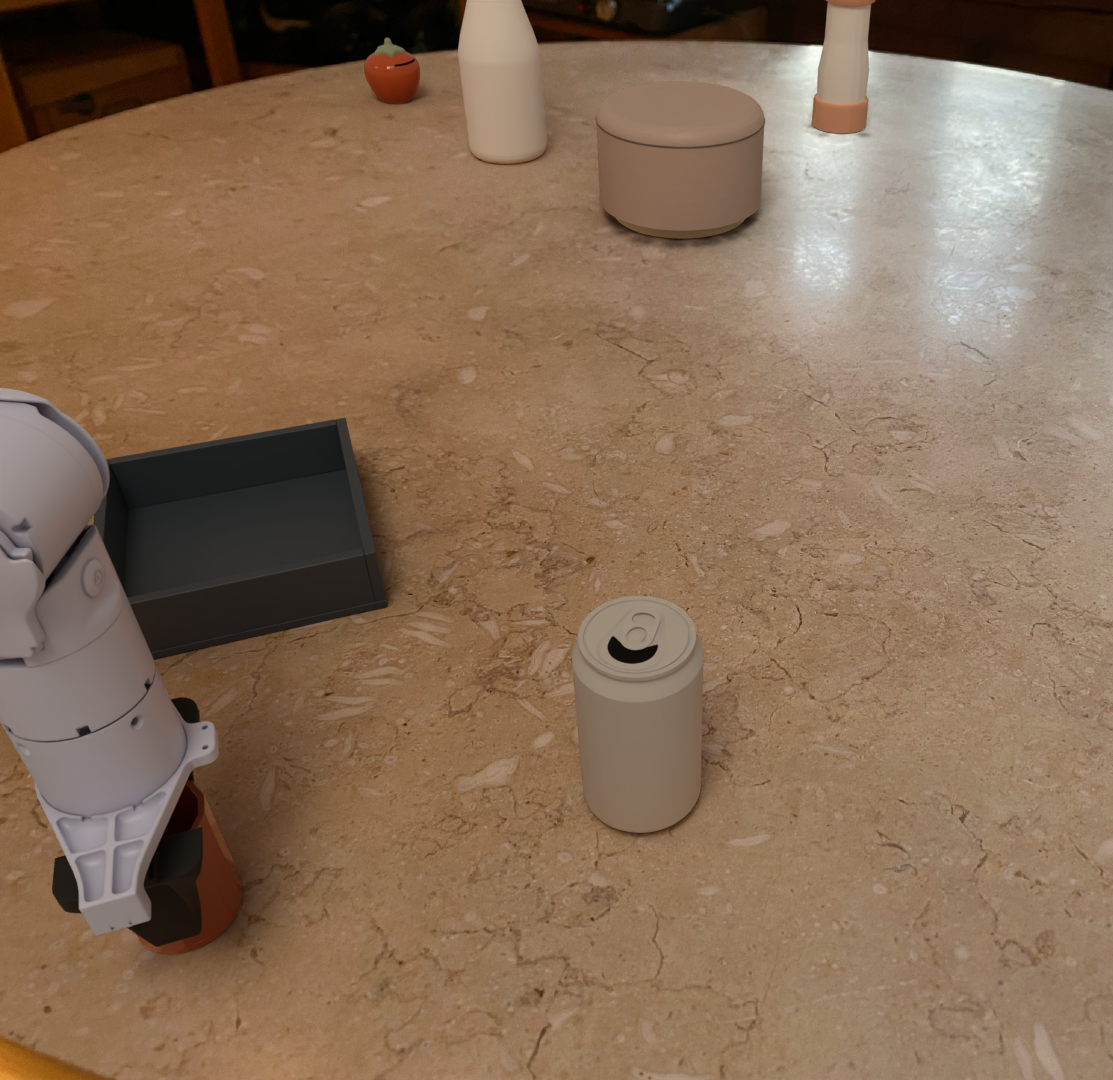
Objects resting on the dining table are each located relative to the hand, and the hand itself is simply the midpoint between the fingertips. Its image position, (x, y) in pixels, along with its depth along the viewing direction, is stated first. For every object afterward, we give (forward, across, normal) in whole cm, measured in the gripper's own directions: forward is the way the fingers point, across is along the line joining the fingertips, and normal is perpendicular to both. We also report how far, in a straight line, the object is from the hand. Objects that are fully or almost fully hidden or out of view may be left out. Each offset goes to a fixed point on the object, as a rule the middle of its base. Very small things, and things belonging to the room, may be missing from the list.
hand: (177, 884), depth 52 cm
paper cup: (+2, 0, 0) cm, 2 cm away
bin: (+2, +27, -4) cm, 27 cm away
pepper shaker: (+2, +95, -82) cm, 126 cm away
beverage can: (+2, -1, -23) cm, 23 cm away
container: (+2, +74, -52) cm, 90 cm away
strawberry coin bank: (+2, +123, -28) cm, 126 cm away
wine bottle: (+2, +98, -38) cm, 105 cm away
